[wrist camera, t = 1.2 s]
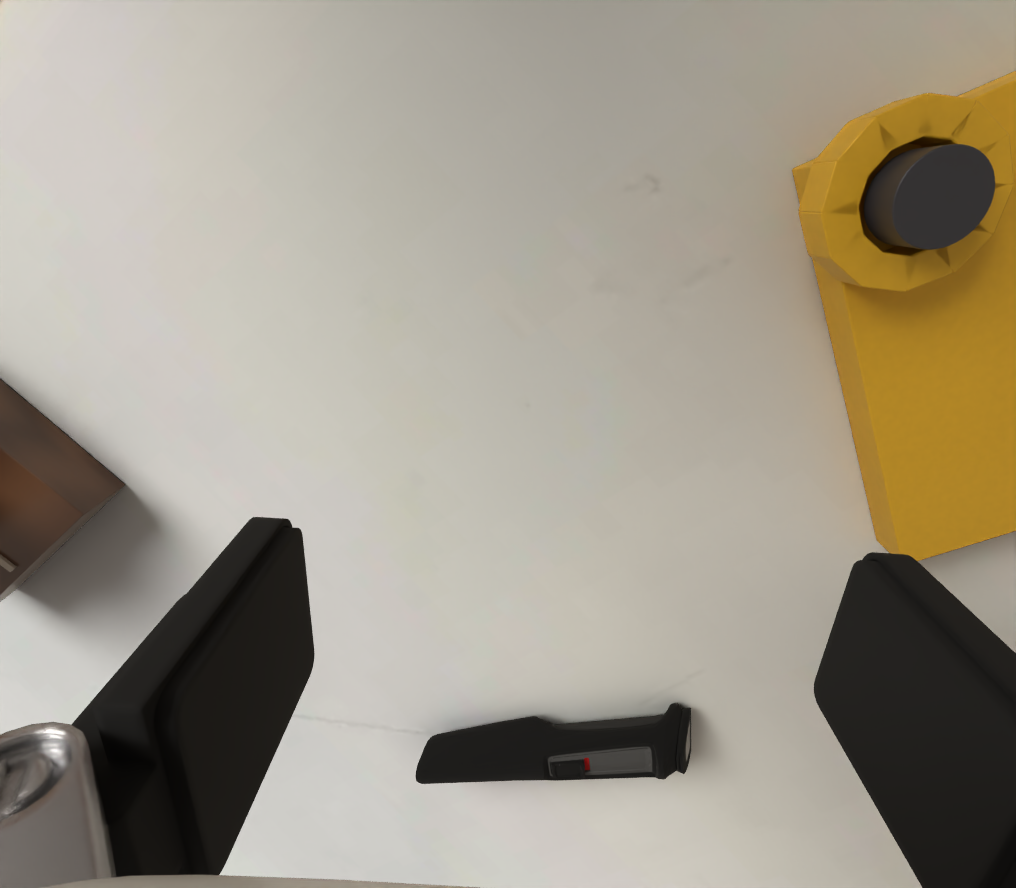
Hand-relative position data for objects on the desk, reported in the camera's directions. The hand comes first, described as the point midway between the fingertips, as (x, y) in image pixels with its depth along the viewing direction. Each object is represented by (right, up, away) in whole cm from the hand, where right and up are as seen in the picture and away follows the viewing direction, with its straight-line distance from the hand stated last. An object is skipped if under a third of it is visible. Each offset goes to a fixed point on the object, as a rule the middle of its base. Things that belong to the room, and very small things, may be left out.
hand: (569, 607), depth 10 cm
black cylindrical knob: (+12, +11, +10) cm, 19 cm away
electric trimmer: (+2, -14, +24) cm, 28 cm away
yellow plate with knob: (+19, +8, +15) cm, 25 cm away
